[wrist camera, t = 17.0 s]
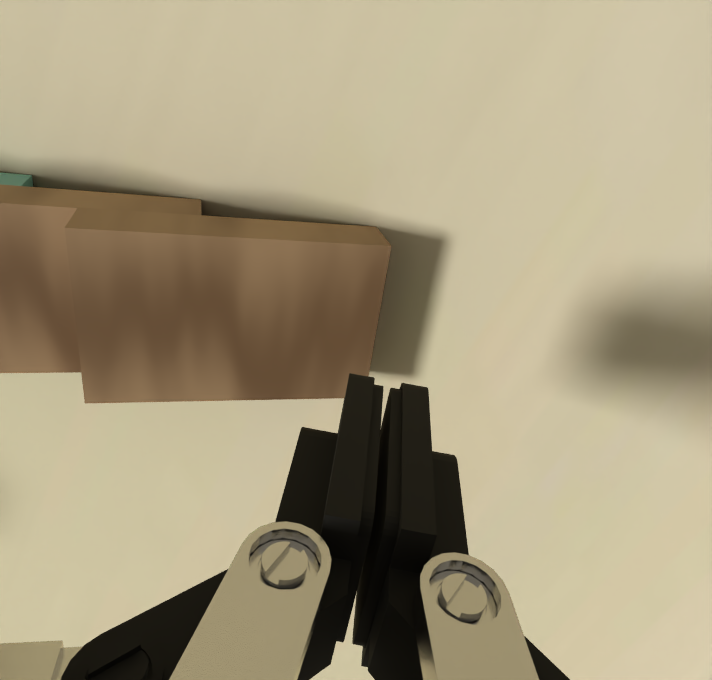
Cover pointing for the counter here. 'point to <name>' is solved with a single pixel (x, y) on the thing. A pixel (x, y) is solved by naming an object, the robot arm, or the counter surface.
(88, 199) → the tile
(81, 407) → the counter surface
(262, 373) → the brown flat rectangular block
